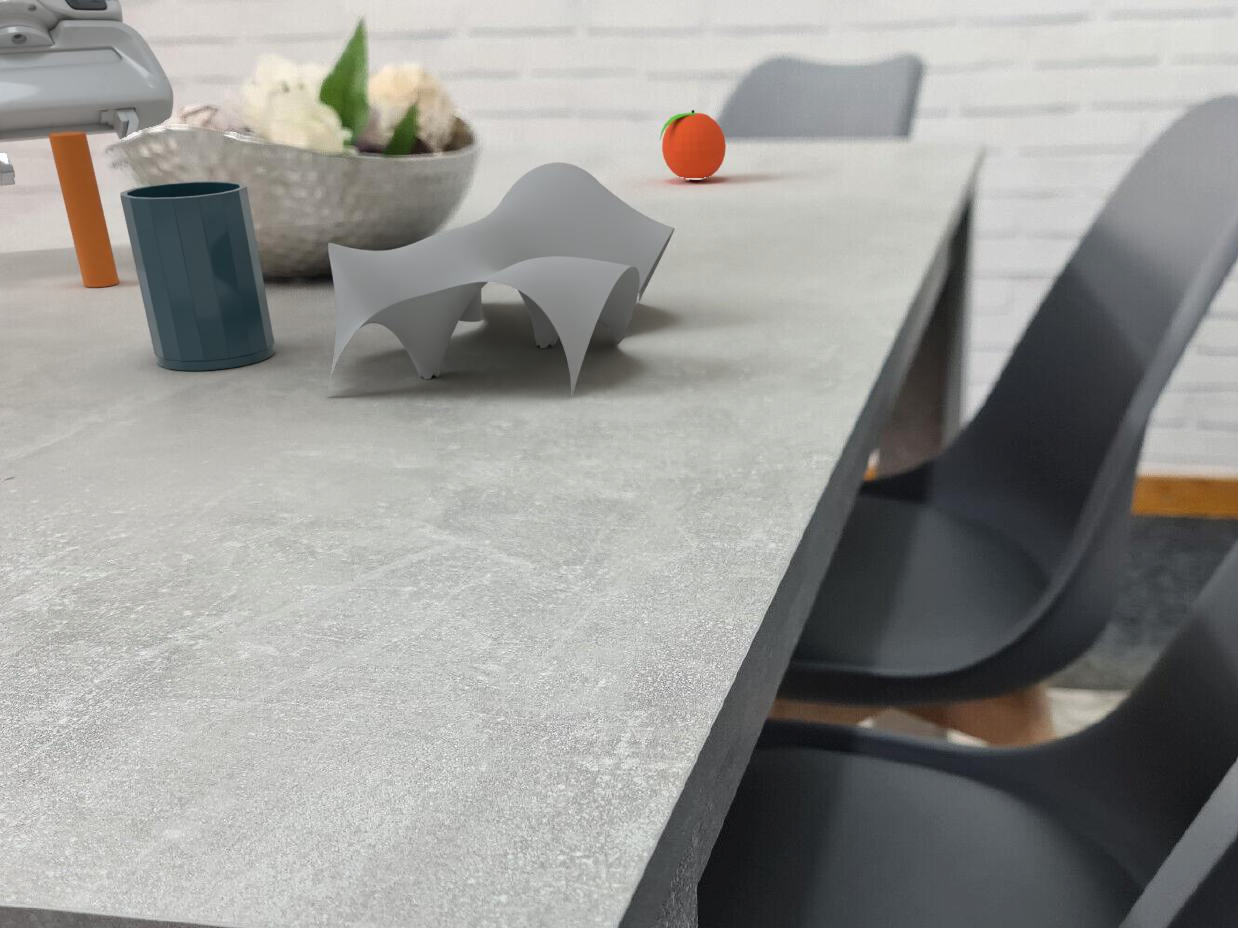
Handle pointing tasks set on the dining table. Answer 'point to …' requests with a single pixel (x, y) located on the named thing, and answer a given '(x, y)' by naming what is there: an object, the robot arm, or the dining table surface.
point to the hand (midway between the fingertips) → (70, 174)
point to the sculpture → (508, 270)
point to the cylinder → (84, 208)
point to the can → (199, 274)
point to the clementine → (693, 145)
